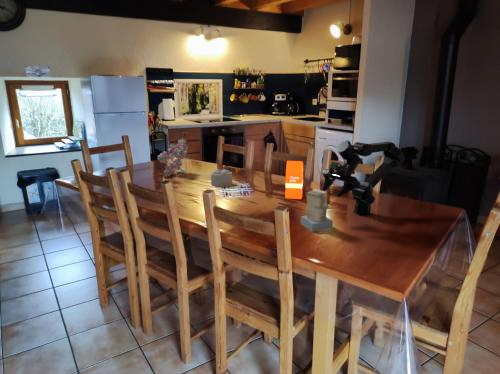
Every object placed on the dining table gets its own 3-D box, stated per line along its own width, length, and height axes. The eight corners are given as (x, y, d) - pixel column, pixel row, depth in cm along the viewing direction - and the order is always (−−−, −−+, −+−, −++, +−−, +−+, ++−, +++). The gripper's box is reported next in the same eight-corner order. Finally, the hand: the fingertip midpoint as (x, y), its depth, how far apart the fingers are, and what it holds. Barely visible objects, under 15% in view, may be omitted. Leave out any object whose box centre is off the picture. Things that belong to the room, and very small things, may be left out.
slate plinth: (320, 221, 167) (320, 213, 166) (332, 229, 158) (332, 220, 157) (300, 224, 164) (300, 216, 162) (312, 232, 155) (312, 224, 153)
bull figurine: (314, 206, 186) (315, 191, 183) (303, 198, 198) (304, 184, 196) (322, 205, 187) (323, 190, 184) (311, 198, 199) (311, 183, 197)
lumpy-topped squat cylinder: (234, 184, 228) (234, 170, 226) (216, 187, 221) (215, 173, 218) (225, 180, 236) (225, 167, 234) (207, 184, 229) (207, 170, 227)
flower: (155, 168, 263) (152, 140, 246) (185, 162, 271) (184, 134, 255) (162, 186, 250) (160, 157, 233) (194, 179, 258) (194, 151, 242)
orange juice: (301, 199, 198) (302, 162, 192) (285, 198, 199) (285, 162, 194) (302, 194, 205) (303, 159, 200) (286, 194, 207) (287, 159, 201)
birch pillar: (314, 214, 164) (315, 189, 160) (326, 218, 160) (327, 191, 156) (306, 218, 159) (307, 192, 156) (318, 222, 155) (319, 195, 152)
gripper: (325, 151, 166) (306, 178, 164) (357, 158, 151) (336, 188, 149) (337, 166, 173) (318, 192, 170) (369, 174, 157) (349, 203, 155)
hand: (330, 193), depth 161 cm, fingers open, 9 cm apart
